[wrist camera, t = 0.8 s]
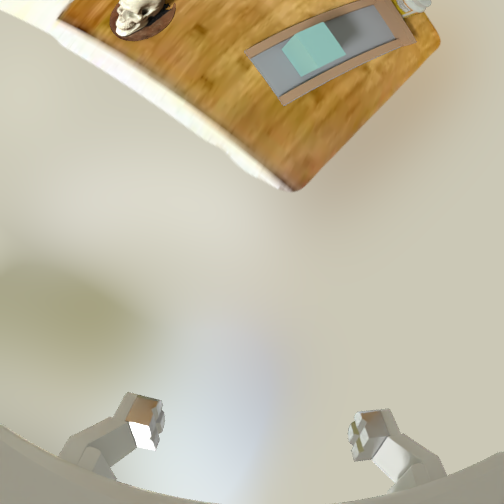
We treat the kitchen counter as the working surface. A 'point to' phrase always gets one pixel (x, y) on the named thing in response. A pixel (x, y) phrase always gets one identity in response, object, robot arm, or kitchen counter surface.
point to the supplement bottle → (410, 6)
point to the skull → (140, 18)
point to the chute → (348, 36)
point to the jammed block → (312, 49)
